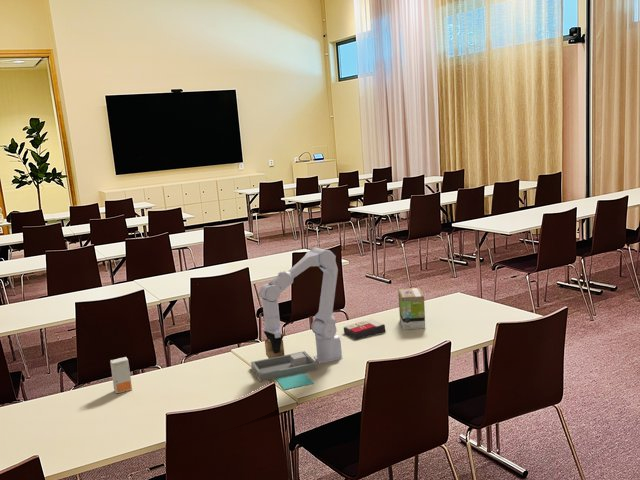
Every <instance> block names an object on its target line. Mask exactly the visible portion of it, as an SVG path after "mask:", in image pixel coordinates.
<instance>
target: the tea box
mask: <svg viewBox="0 0 640 480" xmlns="http://www.w3.org/2000/svg"><path fill="white" fill-rule="evenodd" d="M397 291H398V307H399V308H398V309H399V320H400V323H401V327H402V329H403V330H417V329H418V330H419V329H425V328H426V311H425V296H424V294H423V292H422V290H421V289H420V287H415V288H413V287H412V288H401V289H398V290H397Z"/></svg>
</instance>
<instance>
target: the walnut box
mask: <svg viewBox="0 0 640 480" xmlns="http://www.w3.org/2000/svg"><path fill="white" fill-rule="evenodd" d="M264 347H265V349H264V350H265V355H266V357H267V359H268V358H269V359H270V358H275V357H281V356H285V355H286V354H285V347H284V340H283V339H282V342H281V347H280V353H275V354H274V352H273V348H272V344H271V342H270V340H269V339H267V338H266V339H264Z"/></svg>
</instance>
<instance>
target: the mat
mask: <svg viewBox="0 0 640 480" xmlns="http://www.w3.org/2000/svg"><path fill="white" fill-rule="evenodd" d="M275 380H276V381H277V383H278V384H279V385H280V387H281V388H282V389H283V391H288V390H293V389H297V388H302V387H306V386H311V385H313V384H314V382H313V381H312V379H310V377H309V376H308V375H307V374H306V372H304V373H299V374H294V375H289V376H285V377H280V378H275Z"/></svg>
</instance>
